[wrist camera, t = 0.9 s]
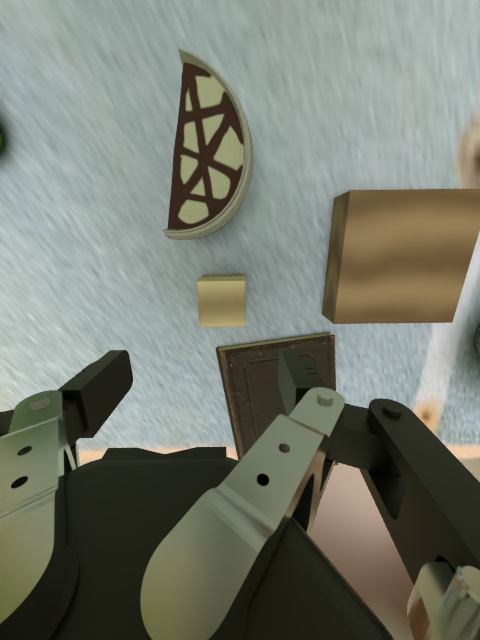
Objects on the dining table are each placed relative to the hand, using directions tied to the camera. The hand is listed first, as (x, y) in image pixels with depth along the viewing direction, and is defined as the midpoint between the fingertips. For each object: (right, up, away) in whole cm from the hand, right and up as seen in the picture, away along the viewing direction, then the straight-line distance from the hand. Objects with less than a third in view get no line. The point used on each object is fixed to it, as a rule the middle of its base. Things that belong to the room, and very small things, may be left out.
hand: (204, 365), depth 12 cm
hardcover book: (+8, -11, +24) cm, 28 cm away
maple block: (0, +6, +18) cm, 19 cm away
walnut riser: (+20, +10, +16) cm, 28 cm away
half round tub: (0, +17, +14) cm, 22 cm away
